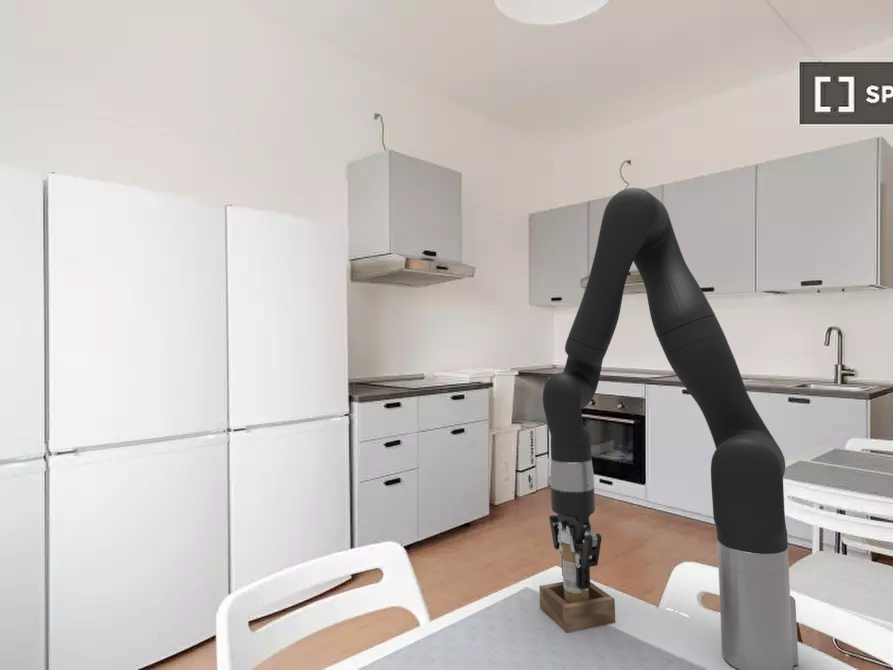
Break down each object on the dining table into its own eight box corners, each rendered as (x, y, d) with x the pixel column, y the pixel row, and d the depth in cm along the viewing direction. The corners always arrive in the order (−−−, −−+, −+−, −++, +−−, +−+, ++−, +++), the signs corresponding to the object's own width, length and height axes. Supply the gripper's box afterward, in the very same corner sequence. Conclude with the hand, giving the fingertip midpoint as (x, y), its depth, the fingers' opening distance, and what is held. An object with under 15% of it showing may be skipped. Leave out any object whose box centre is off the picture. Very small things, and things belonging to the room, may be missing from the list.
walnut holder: (585, 599, 104) (584, 577, 104) (615, 622, 95) (614, 598, 95) (540, 608, 101) (539, 585, 101) (566, 632, 92) (565, 608, 92)
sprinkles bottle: (595, 608, 97) (592, 530, 98) (577, 615, 95) (574, 535, 95) (576, 598, 101) (573, 524, 101) (557, 605, 99) (555, 529, 99)
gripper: (614, 491, 93) (618, 595, 92) (569, 474, 106) (573, 565, 106) (574, 496, 91) (578, 603, 90) (534, 478, 104) (537, 571, 104)
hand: (575, 582), depth 98 cm, fingers closed on sprinkles bottle, 4 cm apart
